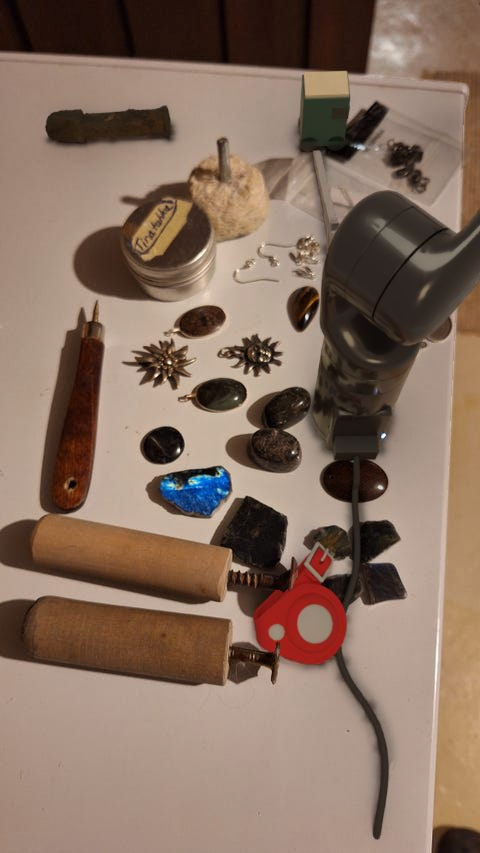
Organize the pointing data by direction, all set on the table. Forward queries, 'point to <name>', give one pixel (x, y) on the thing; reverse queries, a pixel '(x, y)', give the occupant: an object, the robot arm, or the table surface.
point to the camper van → (324, 110)
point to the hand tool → (107, 124)
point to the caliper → (325, 197)
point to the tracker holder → (303, 615)
